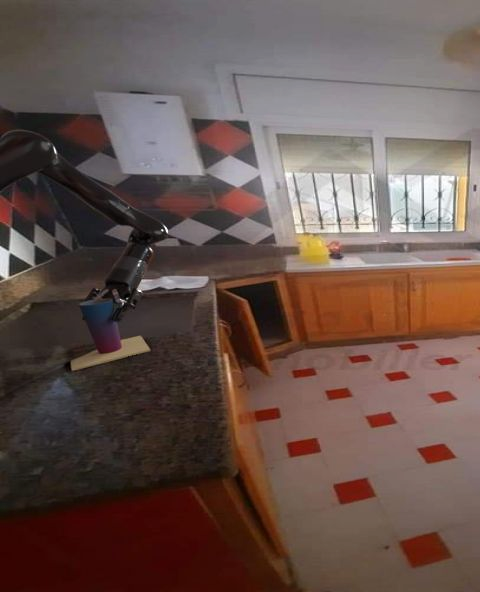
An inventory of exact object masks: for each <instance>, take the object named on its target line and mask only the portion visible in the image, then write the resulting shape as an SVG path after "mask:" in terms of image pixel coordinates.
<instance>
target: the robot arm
mask: <svg viewBox="0 0 480 592" xmlns="http://www.w3.org/2000/svg"><path fill="white" fill-rule="evenodd" d="M36 173H38V174H40V175H42V176H44V177H46V178H48V179H49V180H51V181H53V182H55V184H57V185H59V186H61V187H62V188H64V189H66V190H67V191H68V192H69V193H71V194H73V195H74V196H76V197H77V198H78V199H80V200H81V201H82V202H84V203H85V204H86V205H87V206H89V207H90V208H92V210H95V211H96V212H97V213H99V214H101V215H102V216H104V217H105V218H107V219H108V220H109V221H111V222H112V223H114V224H116V225H118V226H120V227H121V226H122V227H130V228H133V229H132V230H131V231H130V233H129V236H128V239H127V243H126V247H125V248H124V250H123V252H122V253H121V255H120V256H119V258H118V259H117V260H116V262H115V263H114V265H113V266H112V267H111V269H110V271H109V272H108V274H107V276H106V278H105V279H104V285H105V286H104V287H103V288H102V289H98V288H96V287H93V288H91V290H90V292H89V293H88V295H87V296H86V298H85V299H84V301H83V302H86V301H90V300H96V299H112V300H113V305H117V306H118V307H116V309H114V310H115V312H114V314H113V316H112V318H111V320H113V321H115V322H117V323H120V322H121V321H122V320H123V319H124V317H125V315H126V313H127V312H128V311H130V310H135V309H137V307H138V305H139V303H140V300H141V298H142V296H143V291H142V290H140V289H138V288H139V286H140V284H141V282H142V280H143V279H144V276H145V275H146V272H147V269H148V268H149V265H150V263H151V261H152V260H153V257H154V250H153V249H152V248H153V246H154V245H156V244H158V243H161V242H165V241H166V240H167V239H168V238H169V235H170V233H169V229H168V228H167V226H166V225H165V224H164V223H163V222H162V221H160V220H159V219H158V218H155V217H153V216H151V215H150V214H147V213H145V212H143V211H141V210H139V209H137V208H135V207H133V206H132V205H130V204H129V203H128V202H127V201H125V200H124V199H122V198H121V197H120V196H118V195H116V194H115V193H114V192H113V191H111V190H109V189H108V188H107V187H105V186H103V185H101V184H100V183H98V182H96V181H95V180H94V179H91V178H90V177H89V176H87V175H85V174H84V173H83V172H81V171H80V170H79V169H77V168H76V167H75V166H74V165H72V164H71V163H70V162H69V161H67V160H66V159H65V158H64V157H63V156H61V154H60V153H58V151H57V148H56V147H55V145H54V144H53V143H52V142H51V141H50V140H49V139H48V138H47V137H45V136H43V135H42V134H40V133H37V132H34V131H31V130H26V129H13V130H9V131H6V132H5V133H3V135H2V136H1V137H0V194H1V193H2V192H4V191H5V190H6V189H7V188H9V187H10V186H12V185H13V184H15V183H17V182H19V181H21V180H22V179H25V178H27V177H29V176H31V175H33V174H36ZM81 319H82V321H83V322H84V321H85V319H84V316H83V315H82V317H81ZM85 322H86V321H85Z"/></svg>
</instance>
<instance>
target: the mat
mask: <svg viewBox="0 0 480 592" xmlns="http://www.w3.org/2000/svg"><path fill="white" fill-rule="evenodd" d="M120 340H121V345H122V348H121V349H120V350H118V351H115V352H111V353H105V354H100V353H99V352H98V350H97V348H95V349H93V350H91V351H88V352H87V353H85V354H82V355H80V356H78V357H75V358H73V359H71V360H70V368H71V372H75V371H78V370H81V369H85V368H90V367H93V366H97V365H102V364H105V363H109V362H113V361H117V360H120V359H124V358H128V356H129V357H132V355H133V356H136V354H137V355H140V354H144V353H149V352H151V348H150V347H149V346H148V344H147V342H145V340H144V338H143V337H142V335H137V336H133V337H128V338H124V339H120Z"/></svg>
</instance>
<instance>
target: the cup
mask: <svg viewBox="0 0 480 592" xmlns="http://www.w3.org/2000/svg"><path fill="white" fill-rule="evenodd" d="M78 307H79V309H80V311H81V314H82V317H83V316H84V319H85V324H86V326H87V328H88V331H89V333H90V336H91V339H92V341H93V343H94V345H95V349H97V350H98V352H99V353H100V354H105V353H111V352H115V351H118V350H120V349H121V348H122V345H121V340H122V339H121V336H120V330H119V326H118V322H115V321H113V320H111V318H112V316H113V314H114V312H115V310H116V309H115V304H113V300H112V299H96V300H90V301H86V302H84V301H83V302H82V301H81V302H80V303H78Z"/></svg>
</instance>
